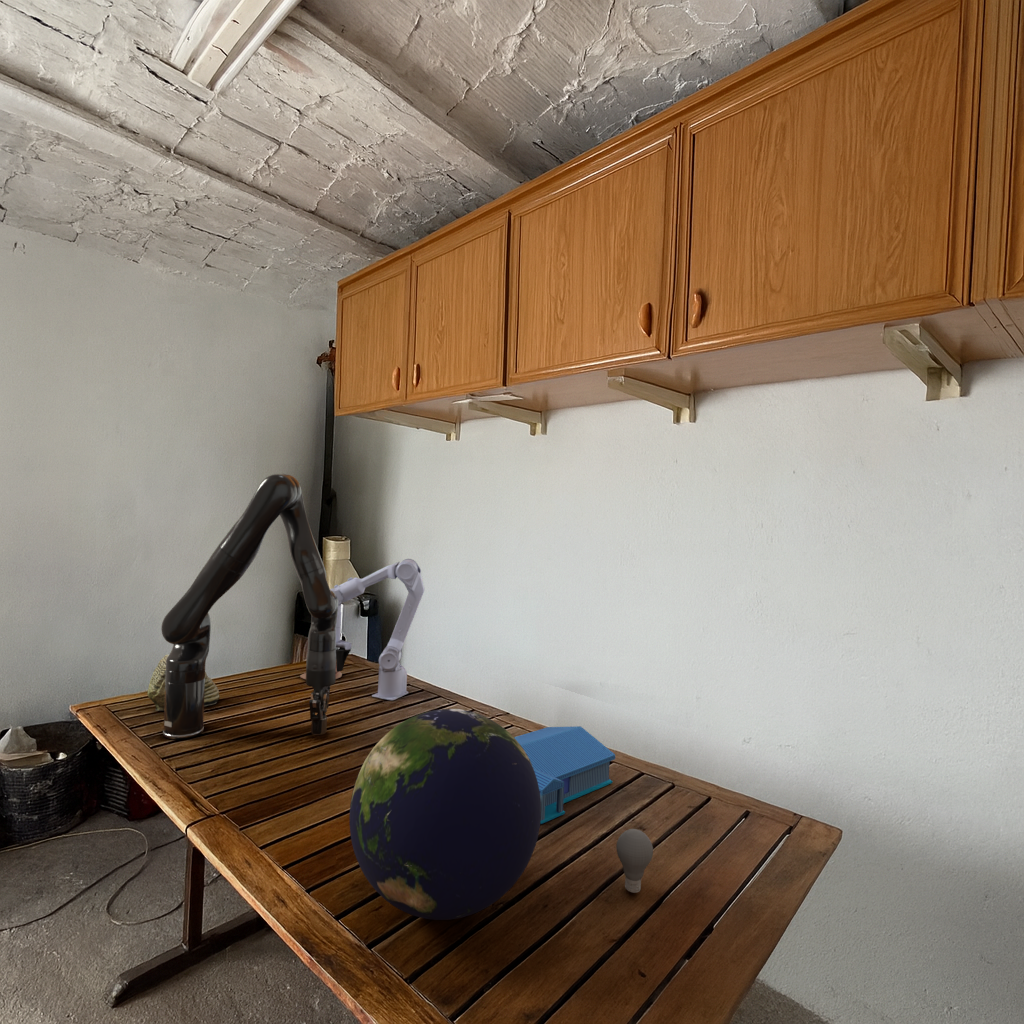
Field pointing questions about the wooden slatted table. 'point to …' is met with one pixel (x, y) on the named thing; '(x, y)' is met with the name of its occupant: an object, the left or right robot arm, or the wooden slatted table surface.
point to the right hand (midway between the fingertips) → (330, 669)
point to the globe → (445, 814)
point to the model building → (565, 765)
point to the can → (324, 725)
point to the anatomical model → (338, 675)
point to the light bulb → (634, 857)
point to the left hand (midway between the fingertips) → (318, 730)
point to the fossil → (158, 687)
